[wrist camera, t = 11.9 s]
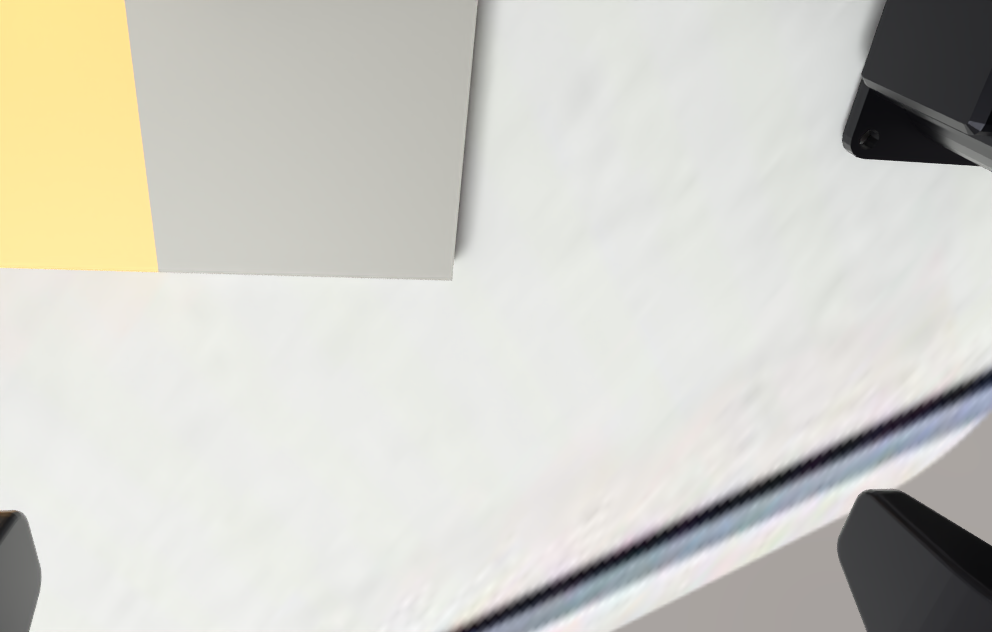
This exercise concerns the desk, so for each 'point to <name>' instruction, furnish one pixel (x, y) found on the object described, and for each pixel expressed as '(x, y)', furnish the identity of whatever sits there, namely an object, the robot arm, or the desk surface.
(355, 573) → the desk surface
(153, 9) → the grey flat board
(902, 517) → the robot arm
